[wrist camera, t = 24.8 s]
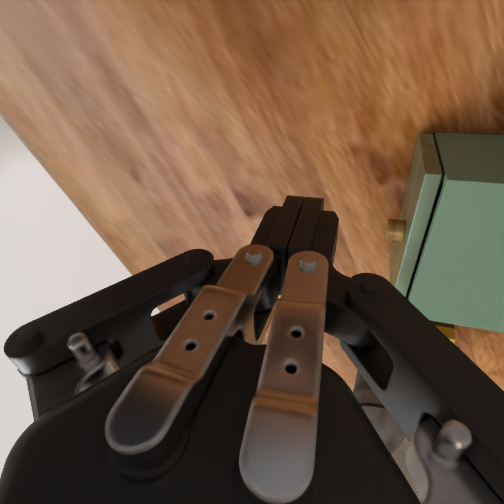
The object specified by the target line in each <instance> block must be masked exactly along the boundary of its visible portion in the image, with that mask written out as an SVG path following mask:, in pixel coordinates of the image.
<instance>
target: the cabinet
mask: <svg viewBox="0 0 504 504" xmlns="http://www.w3.org/2000/svg"><path fill="white" fill-rule="evenodd" d="M434 142H435V146H436V150H437V154H438V158H439V163H440V167H441V171H442V181H443V186H442V189H441V193H440V196H439V199H438V202H437V206H436V209H435V212H434V215H433V219H432V222H431V225H430V228H429V232H428V235H427V238H426V241H425V245H424V248H423V251H422V254H421V258H420V261H419V264H418V267H417V270H416V272H413V275H412V278H411V281H410V285H409V288H408V291H407V294H406V298H407V299H408V300H409V301H410V302H411V303H412V304H413V305H414V306H415V307H416V308H417V309H418V310H419V311H420V312H421V313H422V314H423V315H424V316H426V317H427V318H428V319H429V320H431V321H437V322H442V323H448V324H454V325H460V326H466V327H472V328H477V329H483V330H489V331H495V332H501V333H504V135H491V134H462V133H435V134H434Z"/></svg>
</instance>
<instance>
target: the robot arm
mask: <svg viewBox="0 0 504 504" xmlns="http://www.w3.org/2000/svg"><path fill="white" fill-rule="evenodd" d="M323 209H324V198H312V197H306V198H305V197H300V196H289V195H288V196H287V197H286V199H285V202H284V204H283V206H282V207H280V206H273V207H272V208H270V209H269V210H268V211H267V212H266V213H265V215H264V217H263V219H262V221H261V223H260V225H259V227H258V229H257V231H256V233H255V235H254V237H253V239H252V241H251V243H250V245H247V246H245V247H243V248H241V249H240V250H239V251H238V252H237V253H236V255H235V256H234V258H231V259H222V260H214V257H213V255H212V253H210V252H209V251H207V250H204V249H193V250H189V251H186V252H184V253H182V254H180V255H178V256H175V257H173V258H171V259H169V260H166V261H164V262H162V263H160V264H158V265H155V266H153V267H151V268H149V269H147V270H144V271H142V272H140V273H138V274H135V275H133V276H131V277H129V278H127V279H125V280H122V281H120V282H118V283H116V284H113V285H111V286H109V287H107V288H104V289H102V290H100V291H98V292H96V293H93V294H91V295H89V296H87V297H84V298H82V299H80V300H78V301H76V302H73V303H71V304H69V305H67V306H65V307H62V308H60V309H58V310H56V311H53V312H51V313H49V314H47V315H45V316H42V317H40V318H38V319H36V320H33V321H31V322H29V323H27V324H25V325H23V326H21V327H20V328H18V329H17V330H15V331H14V332H13V333H12V334H11V335H10V336H9V338H8V339H7V341H6V342H5V345H4V352H5V354H6V355H7V356H8V358H9V359H10V360H11V361H12V362H13V363H14V364H15V366H16V367H17V368H18V371H19V372H20V374H21V375H22V376H23V377H24V378H25V379H26V380H27V385H28V391H29V396H30V401H31V406H32V411H33V417H34V422H33V423H32V424H31V425H30V426H29V427H28V428H27V429H26V430H25V431H24V432H23V433H22V435H21V436H20V437H19V439H18V440H17V441H16V443H15V445H14V446H13V448H12V449H11V451H10V453H9V455H8V457H7V459H6V462H5V465H4V468H3V471H2V474H1V478H0V504H504V391H503V390H502V389H501V388H500V387H499V386H498V385H497V384H496V383H494V382H493V381H492V380H491V379H490V378H489V377H488V376H487V375H486V374H485V373H484V372H483V371H482V370H481V369H480V368H479V367H478V366H477V365H476V364H475V363H474V362H473V361H471V360H470V359H469V358H468V357H467V356H466V355H465V354H464V353H463V352H462V351H461V350H460V349H459V348H458V347H457V346H456V345H455V344H454V343H453V342H452V341H451V340H450V339H448V338H447V337H446V336H445V335H444V334H443V333H442V332H441V331H440V330H439V329H438V328H437V327H436V326H435V325H434V324H433V323H432V322H431V321H430V320H429V319H428V318H427V317H426V316H424V315H423V314H422V313H421V312H420V311H419V310H418V309H417V308H416V307H415V306H414V305H413V304H412V303H411V302H410V301H409V300H408V299H407V298H406V297H405V296H404V295H403V294H401V293H400V292H399V291H398V290H397V289H396V288H395V287H394V286H393V285H392V284H391V283H390V282H389V281H388V280H387V279H385V278H384V277H382V276H379V275H377V274H372V273H360V274H357V275H354V276H353V277H351V278H350V277H347V276H345V275H342V274H341V273H339V272H338V271H337V270H336V269H335V268H334V267H333V261H334V256H335V250H336V242H337V233H338V223H339V219H338V217H337V215H336V213H335V212H333V211H323ZM183 293H184V296H185V300H184V301H182V302H180V303H178V304H176V305H174V306H172V307H170V308H168V309H166V310H164V311H162V312H160V313H158V314H156V315H154V316H151V313H152V311H153V309H155V308H156V307H157V306H159V305H161V304H163V303H165V302H167V301H169V300H171V299H173V298H175V297H177V296H179V295H181V294H183ZM279 295H281V298H280V299H278V296H279ZM272 318H273V319H272ZM271 320H272V323H271V328H270V332H269V337H268V341H267V345H261V343H262V341H263V338H264V336H265V334H266V331H267V329H268V327H269V325H270V322H271ZM324 332H326V333H328V334H330V335H332V336H334V337H336V338H338V339H340V345H341V347H342V349H343V350H344V351H345V353H346V354H347V356H348V357H349V358H350V360H351V361H352V363H353V364H354V365H355V367H356V368H357V369H358V371H359V372H360V374H361V375H362V376H363V378H364V379H365V381H366V382H367V383H368V385H369V386H370V388H371V389H372V390H373V392H374V393H375V394H376V396H377V397H378V399H379V400H380V401H381V403H382V404H383V406H384V407H385V408H386V410H387V411H388V413H389V414H390V415H391V417H392V418H393V420H394V421H395V422H396V424H397V425H398V426H399V428H400V429H401V431H402V432H403V433H404V435H405V436H406V437H407V439H408V440H409V442H410V443H409V445H408V447H407V450H406V454H405V462H406V466H407V469H408V472H409V474H410V475H411V477H412V479H413V481H414V484H415V486H416V490H417V496H418V497H417V496H416V494H415V492H414V491H413V490H412V488H411V486H410V484H409V483H408V481H407V480H406V478H405V476H404V475H403V473H402V472H401V470H400V468H399V467H398V465H397V463H396V462H395V460H394V459H393V457H392V455H391V454H390V452H389V450H388V449H387V447H386V446H385V444H384V442H383V441H382V439H381V438H380V436H379V434H378V433H377V431H376V429H375V428H374V426H373V425H372V423H371V421H370V420H369V418H368V417H367V415H366V413H365V412H364V410H363V408H362V407H361V405H360V404H359V402H358V400H357V399H356V397H355V395H354V394H353V392H352V391H351V389H350V388H349V386H348V385H347V384H346V382H345V381H344V380H343V379H342V378H341V377H340V376H339V375H338V374H337V373H336V372H335V371H333V370H332V369H331V368H329V367H328V366H326V365H324V364H323V363H322V352H323V339H324Z"/></svg>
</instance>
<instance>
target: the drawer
mask: <svg viewBox="0 0 504 504" xmlns="http://www.w3.org/2000/svg"><path fill="white" fill-rule="evenodd" d="M442 186H443V181H442V171H441V167H440V163H439V158H438V154H437V150H436V146H435V142H434V138H433V134H419V135H418V139H417V144H416V148H415V152H414V156H413V161H412V165H411V169H410V173H409V178H408V182H407V186H406V190H405V195H404V199H403V203H402V207H401V212H400V216H399V220H394V219H387V222H386V227H385V234H384V239H385V240H394V241H393V246H392V250H391V254H390V283H391V284H392V285H393V286H394V287H395V288H396V289H397V290H398V291H399V292H400V293H401V294H403V295H404V296H405V297H406V294H407V291H408V288H409V285H410V281H411V278H412V275H413V272H416V270H417V267H418V264H419V261H420V258H421V254H422V251H423V248H424V245H425V241H426V238H427V235H428V232H429V228H430V225H431V222H432V219H433V215H434V212H435V209H436V206H437V202H438V199H439V196H440V193H441V189H442Z"/></svg>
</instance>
